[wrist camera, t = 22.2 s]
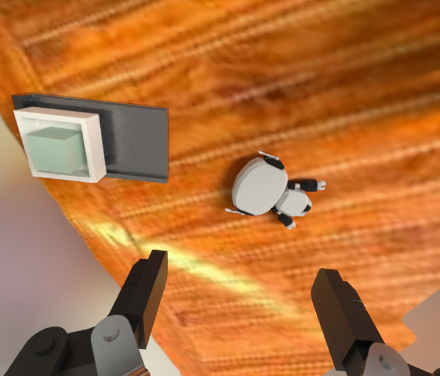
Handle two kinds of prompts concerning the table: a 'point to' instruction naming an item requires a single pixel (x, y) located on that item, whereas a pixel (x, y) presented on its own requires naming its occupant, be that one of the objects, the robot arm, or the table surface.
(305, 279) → the table surface
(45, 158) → the block
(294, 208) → the robot toy
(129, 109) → the track
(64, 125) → the white square tray
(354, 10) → the table surface
